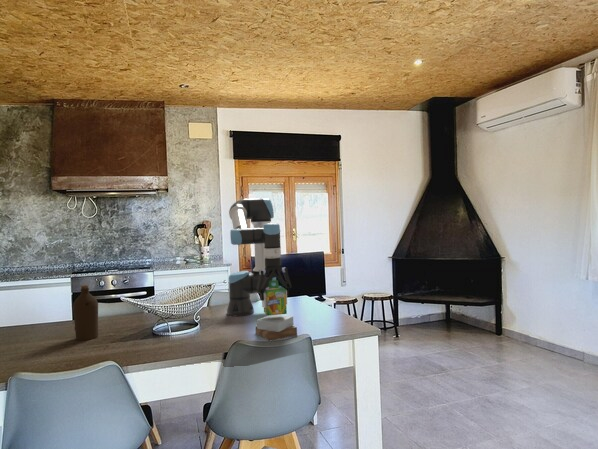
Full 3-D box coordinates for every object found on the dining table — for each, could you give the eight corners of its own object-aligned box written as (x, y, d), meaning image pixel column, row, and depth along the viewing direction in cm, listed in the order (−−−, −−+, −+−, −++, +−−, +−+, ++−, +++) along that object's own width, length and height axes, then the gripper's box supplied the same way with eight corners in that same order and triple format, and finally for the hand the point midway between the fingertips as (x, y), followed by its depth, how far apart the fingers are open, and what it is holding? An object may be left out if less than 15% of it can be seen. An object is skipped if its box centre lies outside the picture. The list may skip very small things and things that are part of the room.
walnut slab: (255, 334, 187) (255, 326, 186) (282, 329, 194) (281, 321, 194) (269, 342, 175) (269, 333, 174) (297, 336, 182) (296, 327, 182)
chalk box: (267, 316, 178) (265, 283, 178) (263, 311, 187) (261, 280, 186) (287, 314, 181) (286, 281, 180) (282, 309, 189) (281, 278, 189)
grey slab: (257, 328, 182) (256, 320, 182) (272, 322, 192) (272, 313, 192) (278, 331, 176) (278, 322, 176) (293, 325, 186) (293, 316, 186)
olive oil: (104, 335, 193) (102, 283, 192) (85, 342, 183) (82, 287, 183) (89, 333, 197) (86, 283, 197) (69, 340, 188) (66, 286, 187)
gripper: (253, 260, 174) (255, 310, 175) (298, 255, 186) (300, 303, 186) (246, 258, 181) (248, 307, 181) (290, 254, 192) (292, 300, 193)
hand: (274, 305), depth 184 cm, fingers closed on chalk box, 10 cm apart
